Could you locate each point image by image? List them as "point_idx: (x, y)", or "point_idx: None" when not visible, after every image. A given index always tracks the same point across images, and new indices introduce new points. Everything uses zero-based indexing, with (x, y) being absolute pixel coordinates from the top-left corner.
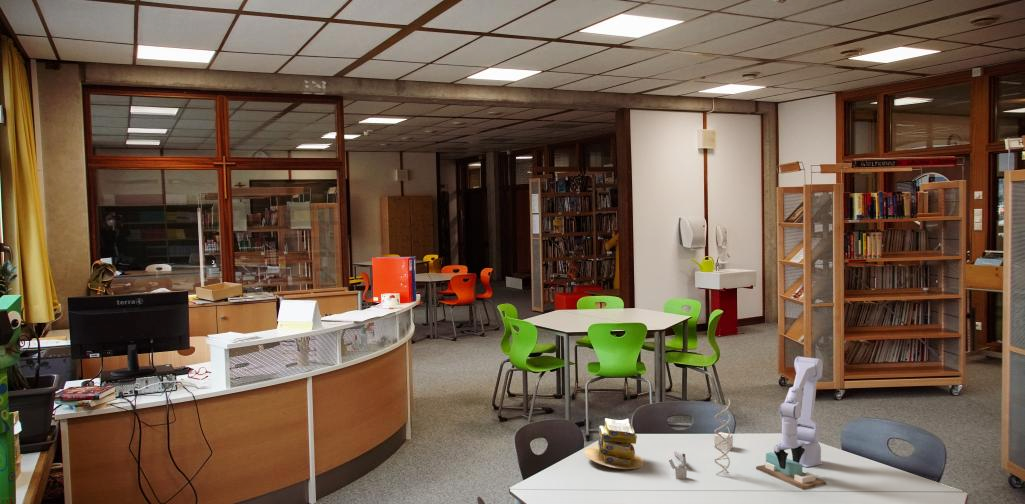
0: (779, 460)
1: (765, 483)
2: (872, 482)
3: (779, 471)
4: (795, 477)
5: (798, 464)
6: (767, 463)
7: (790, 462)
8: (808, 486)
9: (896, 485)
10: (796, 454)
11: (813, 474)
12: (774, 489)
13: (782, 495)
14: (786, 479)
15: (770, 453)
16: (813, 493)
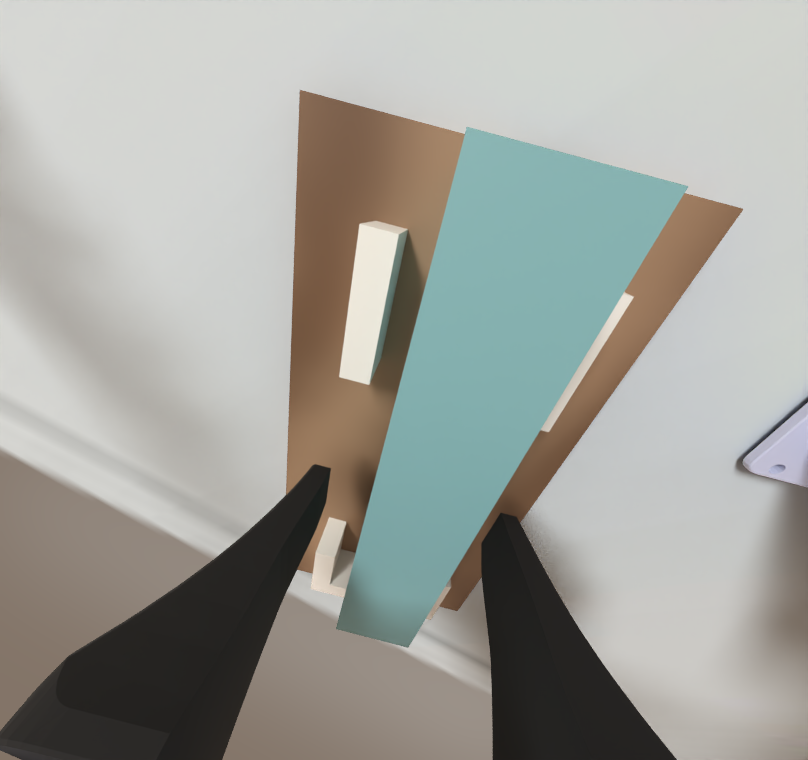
0: (266, 535)
1: (144, 399)
2: (639, 684)
3: (392, 390)
4: (321, 542)
5: (380, 631)
6: (355, 268)
7: (367, 587)
8: None
9: (656, 720)
10: (513, 704)
11: (433, 611)
12: (143, 470)
13: (138, 517)
14: (289, 486)
15: (545, 232)
16: (295, 583)
